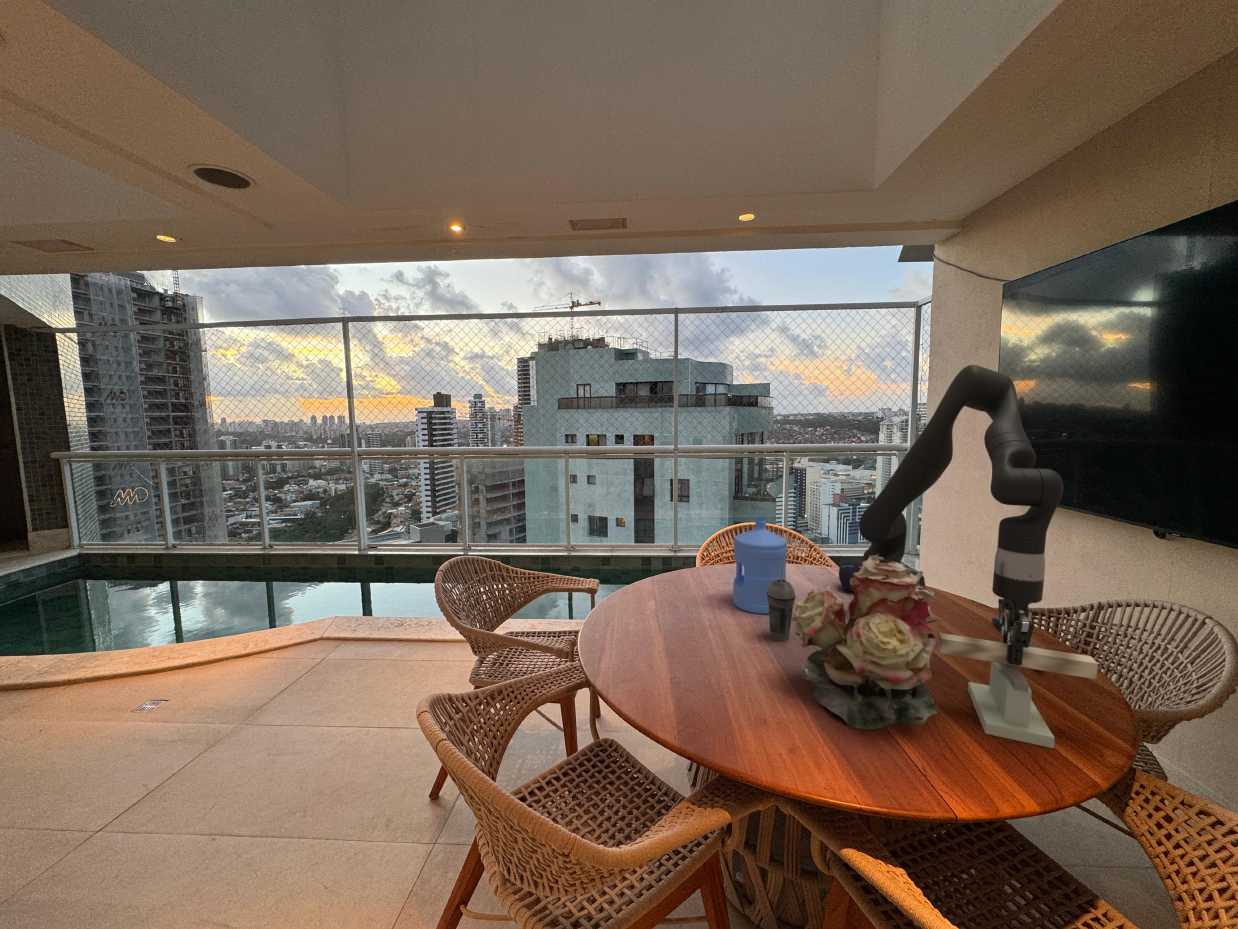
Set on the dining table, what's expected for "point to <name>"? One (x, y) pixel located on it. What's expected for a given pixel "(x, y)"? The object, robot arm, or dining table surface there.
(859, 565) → the portable speaker
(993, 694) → the stand
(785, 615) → the beverage cup
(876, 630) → the rose bouquet
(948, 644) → the bar
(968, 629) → the dining table surface
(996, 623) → the knife
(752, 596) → the water jug
